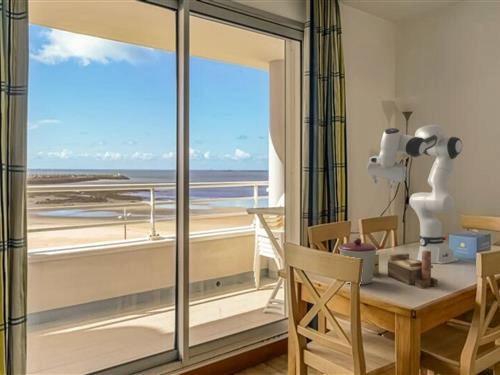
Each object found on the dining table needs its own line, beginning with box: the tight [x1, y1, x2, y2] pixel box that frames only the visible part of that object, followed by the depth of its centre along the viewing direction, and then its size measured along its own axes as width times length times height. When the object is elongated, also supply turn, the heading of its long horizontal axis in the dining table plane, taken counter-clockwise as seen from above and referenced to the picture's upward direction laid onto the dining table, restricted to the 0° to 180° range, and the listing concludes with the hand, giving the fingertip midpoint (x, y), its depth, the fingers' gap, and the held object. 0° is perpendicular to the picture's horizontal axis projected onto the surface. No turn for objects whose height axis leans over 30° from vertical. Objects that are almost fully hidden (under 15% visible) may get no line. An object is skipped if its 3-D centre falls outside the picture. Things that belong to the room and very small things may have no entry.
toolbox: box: [387, 261, 439, 289], centre depth 196 cm, size 12×22×7 cm, turn 18°
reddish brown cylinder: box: [421, 251, 432, 288], centre depth 187 cm, size 4×4×16 cm
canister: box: [337, 237, 378, 286], centre depth 195 cm, size 18×18×21 cm
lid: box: [387, 252, 434, 270], centre depth 197 cm, size 12×18×4 cm
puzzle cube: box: [373, 253, 380, 276], centre depth 211 cm, size 10×10×10 cm
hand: (383, 185), depth 215 cm, fingers open, 8 cm apart
